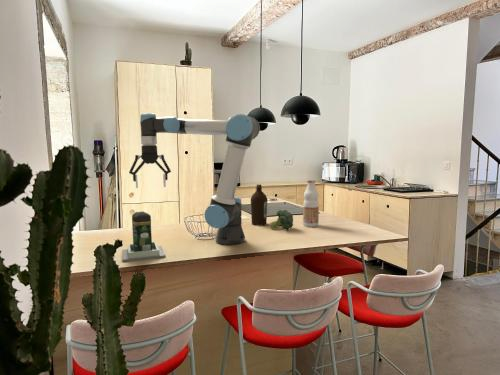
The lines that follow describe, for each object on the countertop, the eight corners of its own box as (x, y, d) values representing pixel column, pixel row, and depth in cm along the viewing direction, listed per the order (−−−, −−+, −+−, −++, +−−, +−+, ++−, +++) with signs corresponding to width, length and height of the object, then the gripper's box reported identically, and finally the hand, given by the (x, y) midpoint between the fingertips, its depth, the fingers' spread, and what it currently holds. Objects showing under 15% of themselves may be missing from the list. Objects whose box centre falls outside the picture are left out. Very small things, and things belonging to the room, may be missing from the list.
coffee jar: (131, 250, 165) (130, 211, 163) (149, 248, 169) (147, 209, 167) (135, 256, 156) (134, 214, 154) (154, 253, 160) (152, 213, 158)
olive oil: (249, 225, 221) (249, 185, 219) (252, 221, 232) (252, 183, 229) (266, 226, 220) (266, 185, 217) (268, 222, 230) (268, 184, 227)
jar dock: (161, 247, 173) (161, 240, 173) (165, 257, 158) (165, 249, 158) (122, 251, 167) (122, 244, 167) (122, 262, 152) (122, 254, 152)
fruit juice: (302, 227, 216) (303, 181, 213) (303, 223, 226) (303, 179, 222) (318, 227, 215) (319, 181, 212) (318, 224, 224) (319, 179, 221)
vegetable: (271, 222, 221) (293, 212, 218) (276, 239, 213) (299, 229, 210) (263, 213, 211) (286, 203, 208) (269, 231, 203) (293, 220, 201)
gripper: (173, 144, 185) (174, 185, 188) (122, 145, 177) (124, 187, 179) (175, 144, 178) (176, 186, 181) (122, 145, 170) (124, 189, 172)
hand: (150, 187), depth 180 cm, fingers open, 13 cm apart
